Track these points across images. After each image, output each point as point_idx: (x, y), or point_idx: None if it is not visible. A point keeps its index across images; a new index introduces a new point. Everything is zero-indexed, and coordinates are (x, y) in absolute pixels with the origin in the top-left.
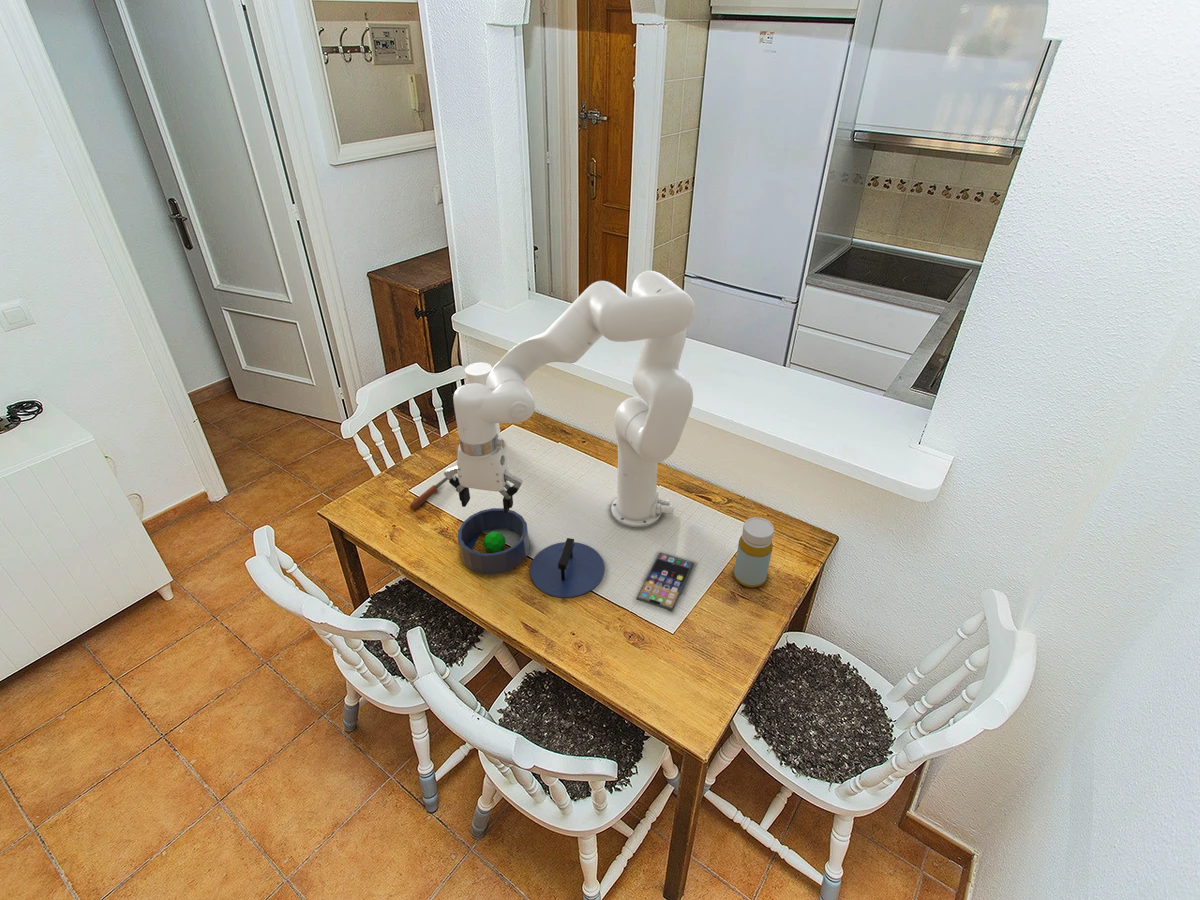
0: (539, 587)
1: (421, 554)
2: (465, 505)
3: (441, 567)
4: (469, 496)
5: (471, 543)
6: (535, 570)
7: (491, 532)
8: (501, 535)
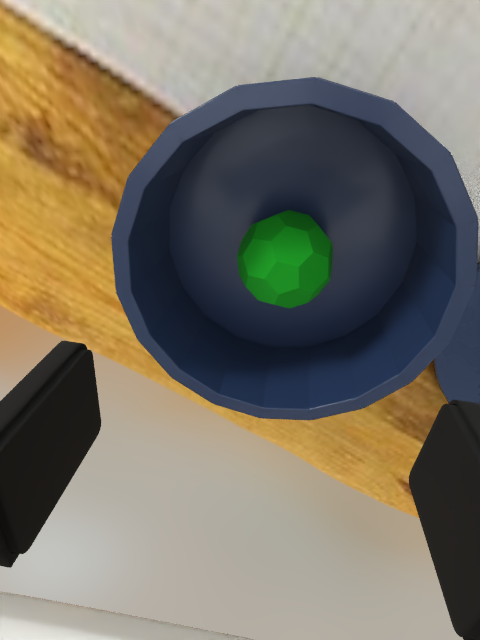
0: None
1: (34, 271)
2: (96, 429)
3: (125, 322)
4: (77, 371)
5: (181, 216)
6: (456, 354)
7: (269, 253)
8: (320, 258)
